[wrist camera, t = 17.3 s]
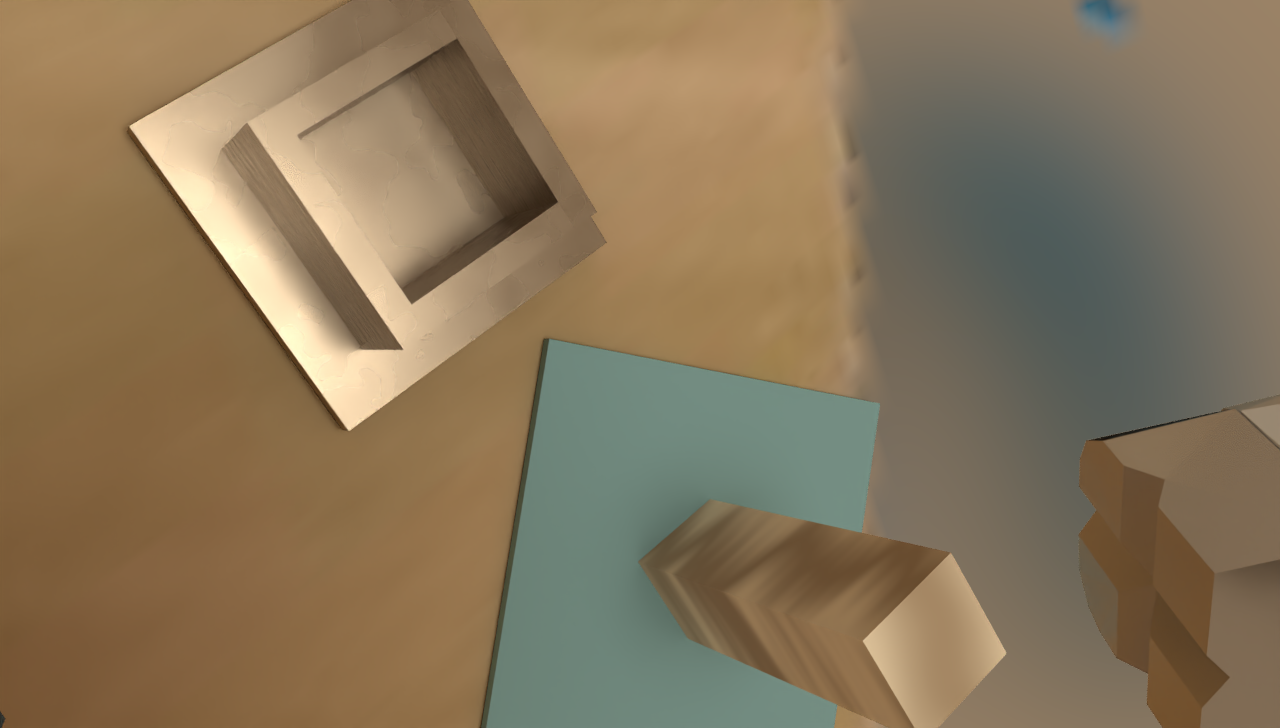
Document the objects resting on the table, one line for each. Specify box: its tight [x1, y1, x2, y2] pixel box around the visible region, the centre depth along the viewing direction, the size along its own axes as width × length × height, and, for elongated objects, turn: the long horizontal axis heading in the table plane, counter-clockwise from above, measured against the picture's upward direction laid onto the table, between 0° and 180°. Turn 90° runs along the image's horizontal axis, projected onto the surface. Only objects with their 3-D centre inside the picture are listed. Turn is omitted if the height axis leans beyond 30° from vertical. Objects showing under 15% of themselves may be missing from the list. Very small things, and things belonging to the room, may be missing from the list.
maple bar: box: [638, 499, 1006, 728], centre depth 41 cm, size 4×4×14 cm
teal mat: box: [481, 339, 880, 728], centre depth 47 cm, size 16×16×1 cm
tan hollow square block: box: [127, 0, 607, 431], centre depth 39 cm, size 12×12×6 cm
